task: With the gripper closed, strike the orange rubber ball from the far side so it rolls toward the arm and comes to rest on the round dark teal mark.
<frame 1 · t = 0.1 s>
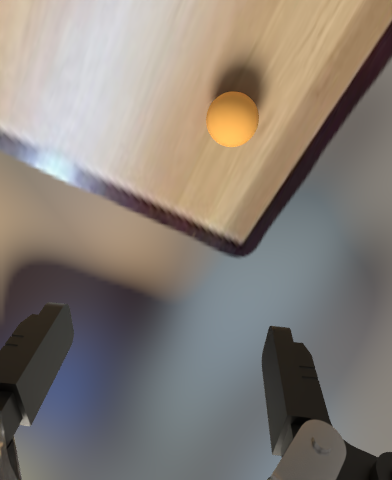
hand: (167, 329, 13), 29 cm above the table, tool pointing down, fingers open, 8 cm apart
ball: (232, 119, 34), on the table
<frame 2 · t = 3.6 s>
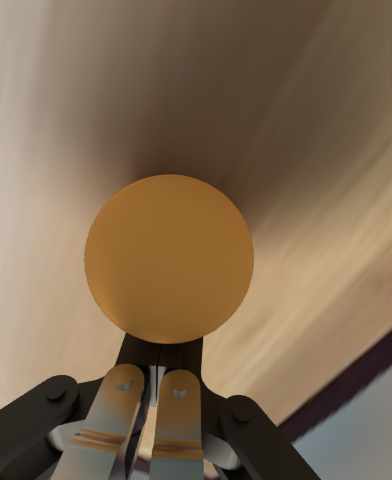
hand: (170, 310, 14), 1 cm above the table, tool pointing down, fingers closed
ball: (170, 257, 11), on the table, touching gripper
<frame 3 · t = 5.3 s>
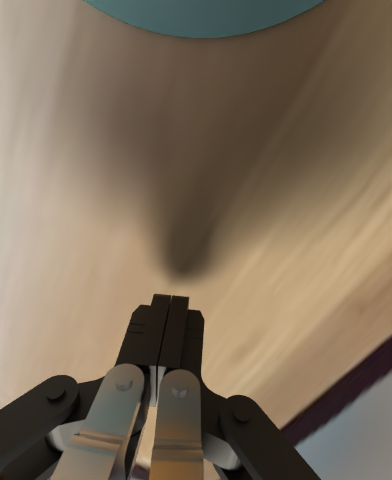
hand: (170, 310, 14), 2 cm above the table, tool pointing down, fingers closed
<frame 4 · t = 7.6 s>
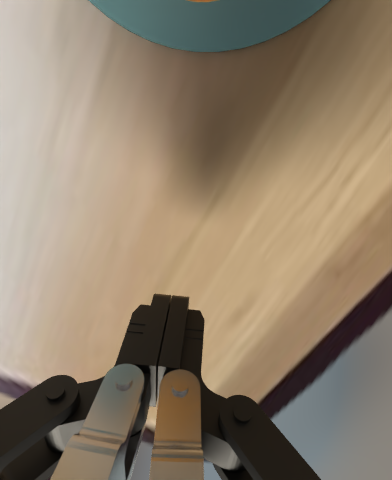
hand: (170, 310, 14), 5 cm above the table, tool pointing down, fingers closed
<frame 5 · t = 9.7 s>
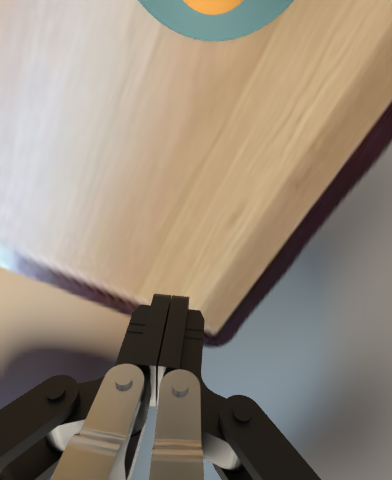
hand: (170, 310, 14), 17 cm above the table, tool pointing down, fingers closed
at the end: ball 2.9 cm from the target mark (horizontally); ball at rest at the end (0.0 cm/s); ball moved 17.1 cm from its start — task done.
